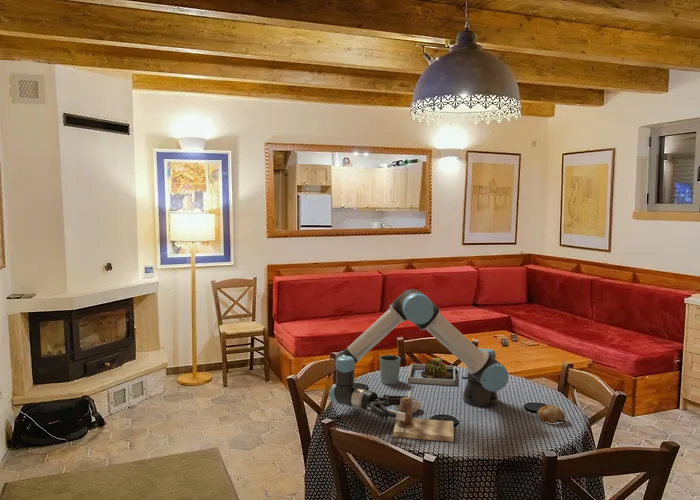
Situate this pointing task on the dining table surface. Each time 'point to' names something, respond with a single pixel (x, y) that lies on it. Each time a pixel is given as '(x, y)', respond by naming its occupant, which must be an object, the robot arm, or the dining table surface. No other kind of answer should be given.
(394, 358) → the green cup
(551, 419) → the bread roll
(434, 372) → the cactus
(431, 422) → the board
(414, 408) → the saucepan
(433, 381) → the plant tray
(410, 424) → the brown flanged cylinder
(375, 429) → the dining table surface
